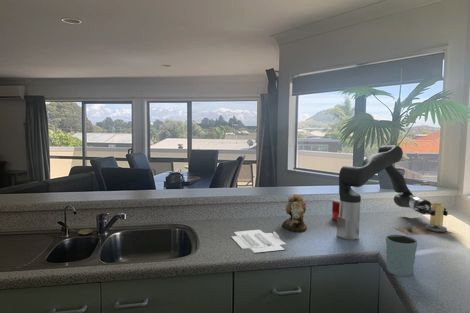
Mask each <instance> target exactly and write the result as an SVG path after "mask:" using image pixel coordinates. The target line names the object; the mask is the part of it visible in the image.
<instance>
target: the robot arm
mask: <svg viewBox="0 0 470 313" xmlns="http://www.w3.org/2000/svg"><path fill="white" fill-rule="evenodd" d="M403 155H404V151H403V149H402V147H400V145H398V144H396V145H395V144H393V145H391V144H390V145H381V146H380V147H379V148H378V151H377V153H374V154H371V155H369V156H367V157H366V158H365V159H363V160H362V164H361V166H351V165H343V166H342V167H341V168H340V171H339V174H338V189H339V190H338V193H339V199H340V207H339V216H337V221H336V236H337V237H339V238H341V239H343V240H358V239H359V237H360V222H361V204H362V202H361V198H362V196H361V194H359V193H357V192H356V191H355V190H354V189H352V187H353V188H360V187H362V186H364V185H365V184H366V183H367V182H368V181H369V180H370V179H372V178H373V177H374V176H376V175H377V174H379V173H380V172H382V171H384V170H385V172H386V173H387V176H388V178H389V179H390V183H391V185H392V188H393V191H394V192H395V193H397V194H396V195H394V197H393V203H395V205H397V206H398V207H401V208H406V209H407V208H409V209H411V210H413V211H415V212H417V213H419V214H421V215H432V216H435V211H433V210H431V203H432V202H430V201H429V200H428V199H425V198H422V197H418V196H415V195H414V194H413V193H412V191H411V190H410V189H409V187H408V186H407V182H406V179H405V177H404V175H403V173H401V171H399V170H398V169H397V168H396V167H395V166H394V165H393V164H397V163H398V162H400V161H401V160H402V158H403ZM448 213H449V212H448V211H447V208H446V207H444V215H443V216H445V217H447V216H448Z"/></svg>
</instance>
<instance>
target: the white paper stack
mask: <svg viewBox="0 0 470 313" xmlns="http://www.w3.org/2000/svg"><path fill="white" fill-rule="evenodd" d="M233 234H234V236H233V235H231V238H232V239H233V240H234V241H235V243H236V244H237V245H238V246H239V247H240V248H241V250H245V249H247V250H248V249H249V250H250V251H251V252H252V253H253V254H255V253H262V252H263V253H265V252H274V251H282V250H283V251H284V250H286V249H285V248H284V247H283V246H285V245H287V243H286V242H284V241H283V240H282V239H280V236H279V234H278V232H276V231H274V230H273V233H272V232H267V233H266V232H264V231H262V230H261V229H250V230H242V231H234V232H233Z"/></svg>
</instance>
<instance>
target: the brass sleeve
mask: <svg viewBox="0 0 470 313" xmlns="http://www.w3.org/2000/svg"><path fill="white" fill-rule="evenodd" d="M430 203H431V210H433V211H435V216H432V215H430V214H429V215H430V216H429V224H431V225H434V226H443V225H444V224H443V223H444V216H445V215H444V208H445V204H443V203H440V202H439V203H437V202H430ZM443 227H444V226H443Z"/></svg>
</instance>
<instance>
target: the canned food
mask: <svg viewBox="0 0 470 313" xmlns="http://www.w3.org/2000/svg"><path fill="white" fill-rule="evenodd" d="M331 207H332V210H331V211H332V212H331V219H332V220H333V221H335V222H337V216H339V207H340V198H333V199H332V206H331Z"/></svg>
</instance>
